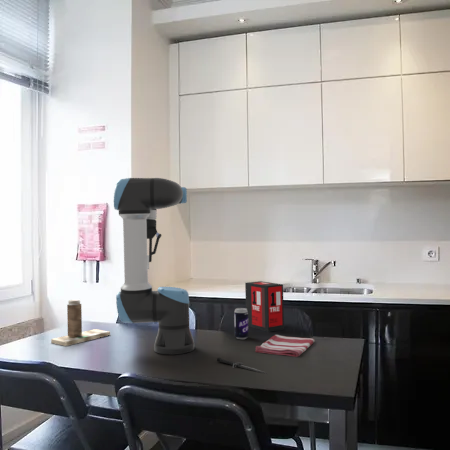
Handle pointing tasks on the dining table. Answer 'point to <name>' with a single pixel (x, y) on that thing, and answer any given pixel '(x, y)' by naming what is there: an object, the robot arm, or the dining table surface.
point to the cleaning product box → (265, 305)
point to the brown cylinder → (74, 318)
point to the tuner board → (86, 337)
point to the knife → (239, 365)
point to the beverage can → (241, 323)
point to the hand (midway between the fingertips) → (147, 269)
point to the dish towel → (285, 345)
